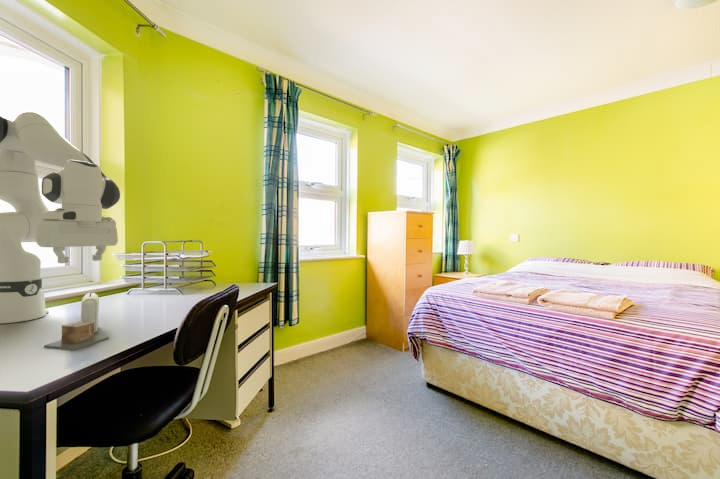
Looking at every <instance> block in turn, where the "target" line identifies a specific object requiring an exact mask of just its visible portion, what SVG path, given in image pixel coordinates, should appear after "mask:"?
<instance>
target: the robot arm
mask: <svg viewBox="0 0 720 479" xmlns="http://www.w3.org/2000/svg"><path fill="white" fill-rule="evenodd" d="M37 161H38V162H41V163H42V164H43V163H44V164H48V165H52V166H55V167H59V168H61V169H60V170H58V171H57V172H54V171H53V172H51V173H49V174H46V175H45V176H44V177H42V180H41V191H40V185H39V172H38V166H37ZM41 194H42V196H43V197H45V198H46V199H47V200H48V201H49V202H51V203H54V204H60V205H61V207H60V208H59V207H58V208H53V209H49V208H48V207H47V206H46V205H45V203H44V201H43V199H42V196H41ZM120 199H121V192H120V188H119V187H118V185H117V184H116V182H114V181H113V180H112V179H110V178H108V177H107V176H106V175H105V173H103V172H102V170H101V168H100V166H99V165H97V164H96V163H94V161H93V160H92V159H91V158H90V157H89V156H88V155H87V154H86V153H85V152H83V151H82V150H80V149H78V148H77V147H76V146H74V145H73V144H72V143H70V142H69V141H68V140H67V139H66V138H65V134H63V133H62V132H61V131H60V130H59V129H58V127H57V126H56V125H55V124H54V123H53V122H52V121H51V120H50V119H49V118H48V117H47V116H46V115H44V114H41V113H39V112H35V111H22V112H20V113H18V114H17V115H15V116H14V118H11V117H4V116H2V115H0V200H1V201H4V202H6V203H8V204H9V205H11V206H12V207H13V209H15V210H14V211H5V210H4V211H1V210H0V325H1V324H10V323H18V322H24V321H25V322H26V321H31V320H35V319H40V318H42V317H45V316H46V315H47V314H49V309H46V299H45V293H44V292H43V291H42V290H41V289H42V288H43V280H42V278H41V259H40V258H39V256H37V255H36V254H34V253H32V252H29V251H26V250H25V249H24V247H22V243H36V244H37V245H38V247H40V248H52V252H53V253H54V255H56V257H57V263H58V264H68V263H69V259H70V258H69V257H70V256H66V255H65V253H64V252H65V250H66V248H69V247H70V248H71V247H72V248H73V247H75V248H76V247H78V248H79V247H95V250H96V251H95V254H92V256H91V257H92V261H94V262H96V261H97V262H98V261H99V262H100V261H102V258H103V254H104V253H105V252H106V249H107V247H109V246H110V247H111V246H112V247H113V246H114V247H115V246H117V244H118V241H119V238H118V236H119V235H118V230H117V222H116V221H115V219H113V218H112V217H110V216H106V217H105V216H103V215H102V214H103V210H107V209H110V208H112V207H113V206H115V205H117V203H118V202H119V201H120Z"/></svg>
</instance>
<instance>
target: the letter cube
mask: <svg viewBox="0 0 720 479" xmlns="http://www.w3.org/2000/svg"><path fill="white" fill-rule="evenodd" d="M94 335H95V333H94V322H87V321H81V320H79V321H75V322H71V323H66V324H63V325H61V340H62V341H61V343H68V344H79V343H82V342H85V341H88V340H91V339H94Z"/></svg>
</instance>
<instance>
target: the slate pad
mask: <svg viewBox="0 0 720 479" xmlns="http://www.w3.org/2000/svg"><path fill="white" fill-rule="evenodd" d="M109 338H110V336H106V335H95V334H94V339H91V340H88V341H85V342H82V343H79V344H68V343H61V341H62V339H60V340H57V341H54V342H51V343H47V344H44V345H43V348H45V349H46V348H48V349H56V350H57V349H58V350H68V351H76V350H79V349H83V348H85V347H87V346H91V345H94V344H97V343H99V342H102V341H105V340H109Z"/></svg>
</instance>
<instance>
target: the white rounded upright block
mask: <svg viewBox="0 0 720 479" xmlns="http://www.w3.org/2000/svg"><path fill="white" fill-rule="evenodd" d="M80 304H81V305H80V308H81V309H80V321H87V322H94V334H95V333H97V332H98V329H99V312H100V311H99V308H100V307H99V304H100V298H99V295H98V294H96V293H95V292H90V293H89V292H88V293H86V294H84V296H83V297H82V298H81V303H80Z"/></svg>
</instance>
